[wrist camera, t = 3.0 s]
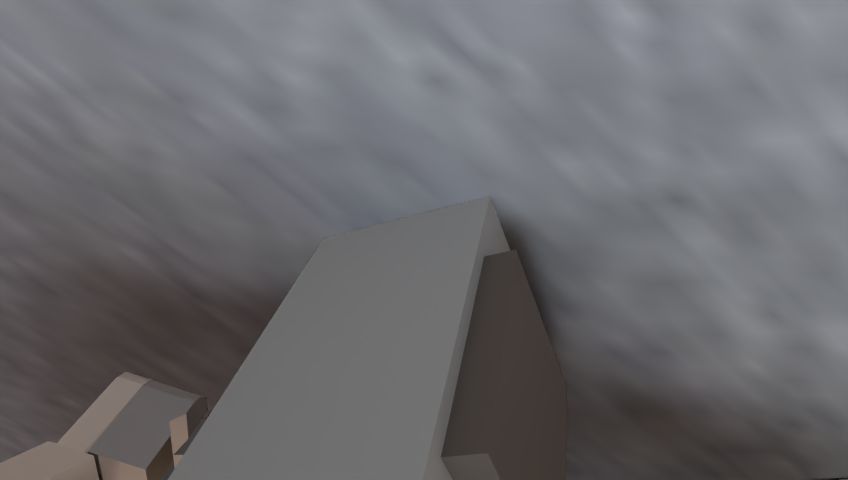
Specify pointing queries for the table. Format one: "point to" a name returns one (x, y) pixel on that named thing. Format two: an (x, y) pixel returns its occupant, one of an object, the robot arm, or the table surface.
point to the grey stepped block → (396, 365)
